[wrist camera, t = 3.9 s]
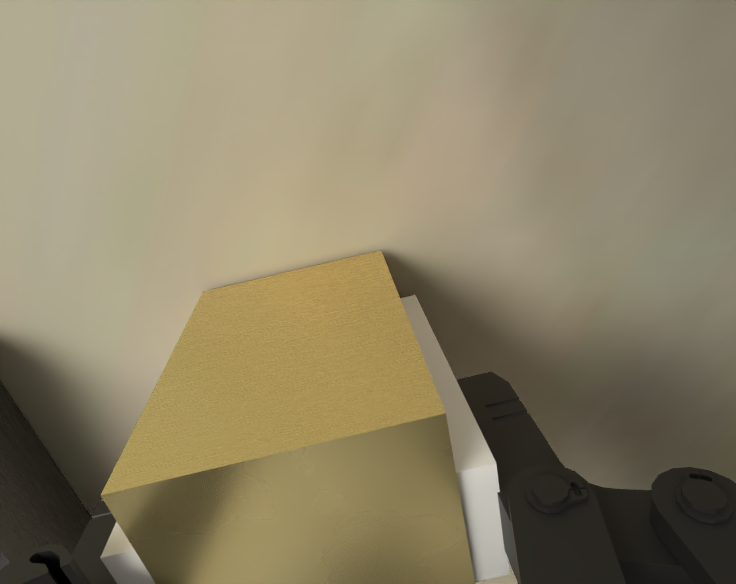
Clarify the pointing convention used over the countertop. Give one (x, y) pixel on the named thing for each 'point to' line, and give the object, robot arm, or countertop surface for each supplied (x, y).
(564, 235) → the countertop surface
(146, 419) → the yellow block
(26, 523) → the dark grey tray
